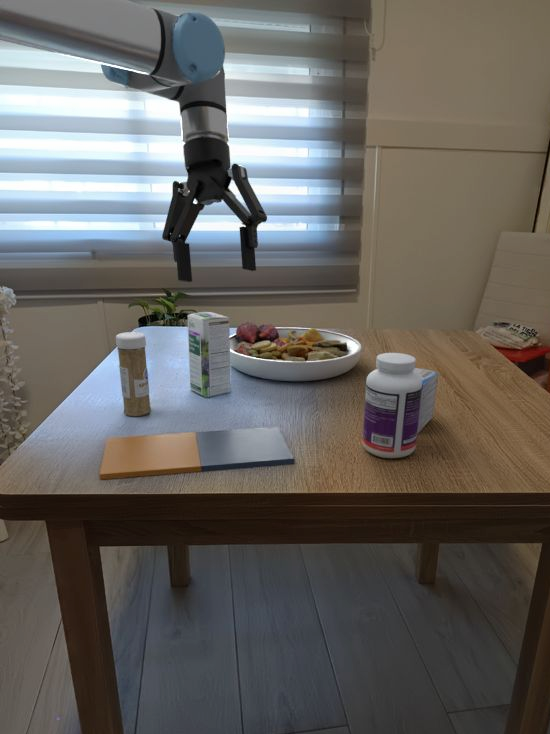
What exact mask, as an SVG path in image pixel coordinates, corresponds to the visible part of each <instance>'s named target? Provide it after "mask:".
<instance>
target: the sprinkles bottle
mask: <svg viewBox="0 0 550 734" xmlns="http://www.w3.org/2000/svg"><path fill="white" fill-rule="evenodd" d="M115 344H116V345H115V346H116V348H117V353H118V361H119V362H118V363H119V365H118V368H119V377H120V385H121V386H120V387H121V396H122V401H123V413H124V414H125V415H126V416H128V417H142V416H146V415H148V414H150V413H151V412H152V407H151V401H150V384H149V374H148V366H147V356H146V355H147V354H146V346H147V339H146V335H145V333H142V332H138V331H128V332H127V331H126V332H120V333H118V334H116V335H115Z"/></svg>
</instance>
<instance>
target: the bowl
mask: <svg viewBox="0 0 550 734" xmlns="http://www.w3.org/2000/svg"><path fill="white" fill-rule="evenodd" d="M361 355H362V344H361V342H360V341H358V340H357V339H356V338H354V337H352V336H349V335H346V334H343V333H340V332H335V331H331V330H325V329H318V328H315V327H311V328H310V327H309V328H308V327H275V325H273V323H270V322H262V323H261V324H260V325H259V326H258V325H257V324H256V323H254V322H251V321H245V322H243V323H241V324H240V325H238V326H237V327H236V330H235V333H233V334H231V335H230V366H232V367H233V368H234V369H235V370H237V371H239V372H241V373H242V374H245V375H248V376H251V377H256V378H260V379H264V380H265V379H266V380H270V381H272V380H273V381H282V382H311V381H321V380H325V379H331V378H334V377H338V376H341V375H343V374H345V373H348V372H349V371H350V370H352V369H353V368H354V367H355V366H356V365H357V364H358V362H359V360H360V358H361Z"/></svg>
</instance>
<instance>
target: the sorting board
mask: <svg viewBox="0 0 550 734" xmlns="http://www.w3.org/2000/svg"><path fill="white" fill-rule="evenodd" d="M291 464H295V456H294V455H293V453H292V451H291V448H290V447H289V445H288V443H287V441H286V439H285V437H284V435H283V433H282V431H281V429H280V427H279V426H266V427H253V428H251V427H250V428H238V429H237V428H236V429H234V428H233V429H222V430H221V429H219V430H206V431H191V432H177V433H161V434H147V435H131V436H116V437H106V440H105V444H104V450H103V454H102V459H101V464H100V469H99V480H101V481H102V480H112V479H113V480H114V479H126V478H134V477H135V478H137V477H148V476H161V475H171V474H182V473H195V472H196V473H197V472H208V471H220V470H232V469H234V470H235V469H243V468H256V467H266V466H267V467H268V466H280V465H281V466H282V465H291Z"/></svg>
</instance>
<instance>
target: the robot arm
mask: <svg viewBox="0 0 550 734" xmlns="http://www.w3.org/2000/svg"><path fill="white" fill-rule="evenodd" d="M0 41H2V42H6V43H10V44H16V45H19V46H23V47H29V48H33V49H37V50H40V51H45V52H48V53H54V54H58V55H62V56H67V57H70V58H75V59H80V60H83V61H89V62H92V63H96V64H100V67H101V70H102V74H103V75H104V77H105V78H106V79H107V80H108V82H111V83H114V84H116V85H119V86H121V87H123V88H125V89H131V90H135V91H138V92H141V93H146V94H149V95H152V96H156V97H159V98H162V99H163V98H164V99H166V100H168V101H174V102H177V103H178V107H179V116H180V128H181V141H182V143H183V146H182V151H183V165H184V168H185V171H186V173H187V179H186V181H181V182H180V181H177V180H173V182H172V197H171V200H170V203H169V206H168V211H167V216H166V219H165V223H164V227H163V231H162V236H161V239H162V240H163V241H166V242H170V243H171V245H172V253H173V260H174V263H176V271H177V281H178V282H185V283H192V282H193V273H192V262H191V261H192V260H191V249H190V248H191V247H190V243H188V242H186V241H187V240H188V237H189V235H190V233H191V230H192V229H193V226H194V225H195V223H196V220H197V218H198V216H199V214H200V213H201V211H203V210H204V209H205V207H206V206H210V205H213V204H214V203H218V204H219V203H222V202H224V204H225V205H226V206H227V207H228V208H229V209H230V211H231V212H233V213H234V215H235V216H236V217H237V218H238V219H239V221H240V222H241V223H240V224H241V225H243V226H240V227H239V239H240V240H239V241H240V253H241V267H242V270H247V271H250V272H254V271H257V264H256V251H255V249H258V246H259V239H258V227H259V225H261V224H262V223H265V222H267V221H268V216H267V214H266V212H265V210H264V208H263V206H262V204H261V202H260V201H259V198H258V196H257V195H256V192H255V191H254V189H253V187H252V185H251V183H250V181H249V176H248V171H247V168H246V167H244V166H242V165H239V164H238V163H233V164H231V163H232V162H231V152H230V151H231V150H230V145H229V144H228V143H229V141H230V140H229V128H228V114H227V97H226V82H225V78H226V76H225V75H226V73H225V69H224V63H225V59H226V47H225V46H226V45H225V41H224V37H223V34H222V32H221V30H220V28H219V26H218V25H217V24H216V22H215V21H214V20H213V19H212V18H211V17H209V16H208V15H206V14H204V13H201V12H183V13H181V14H180V15H176V14H173V13H170V12H167V11H163V10H161V9H156V8H153V7H149V6H146V5H143V4H141V3H137V2H134V1H131V0H0ZM232 181H233V182H234V184H235V186H236V188H237V191H238V192H239V195H240V196H241V198H242V200H243V201H244V204H245V206H246V207H247V208H246V207H245V206H244V205H243V203H242V202H240V200H239V199H238V198H237V195H236V194H235V193H234V192H233V191H232V190H231V189H230V188H229V187H230V185H231V183H232Z"/></svg>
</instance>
